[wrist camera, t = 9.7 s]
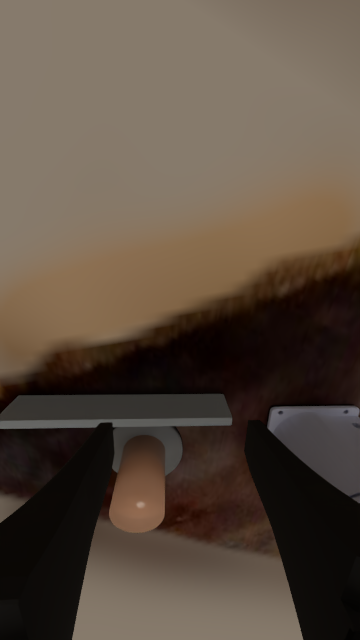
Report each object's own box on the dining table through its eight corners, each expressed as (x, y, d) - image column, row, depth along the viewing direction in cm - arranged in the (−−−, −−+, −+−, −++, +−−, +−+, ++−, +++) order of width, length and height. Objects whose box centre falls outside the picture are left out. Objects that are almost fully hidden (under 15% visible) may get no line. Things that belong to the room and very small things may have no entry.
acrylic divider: (223, 393, 24) (232, 417, 21) (222, 400, 24) (231, 425, 21) (18, 395, 23) (-7, 420, 20) (20, 402, 23) (-5, 428, 20)
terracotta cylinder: (165, 434, 24) (164, 493, 18) (165, 467, 26) (164, 532, 20) (122, 435, 24) (107, 494, 18) (123, 468, 25) (110, 533, 20)
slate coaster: (183, 414, 25) (183, 419, 24) (181, 473, 27) (181, 479, 26) (104, 415, 24) (102, 420, 23) (109, 475, 26) (107, 481, 26)
